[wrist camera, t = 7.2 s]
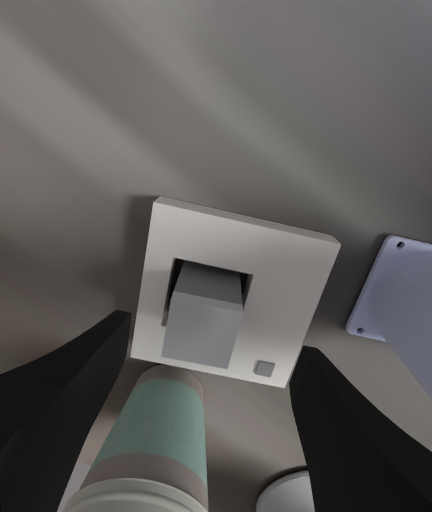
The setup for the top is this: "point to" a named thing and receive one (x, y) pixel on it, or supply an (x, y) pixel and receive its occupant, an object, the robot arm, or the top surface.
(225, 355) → the plug
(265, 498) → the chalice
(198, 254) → the socket plate
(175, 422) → the coffee cup
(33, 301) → the top surface
